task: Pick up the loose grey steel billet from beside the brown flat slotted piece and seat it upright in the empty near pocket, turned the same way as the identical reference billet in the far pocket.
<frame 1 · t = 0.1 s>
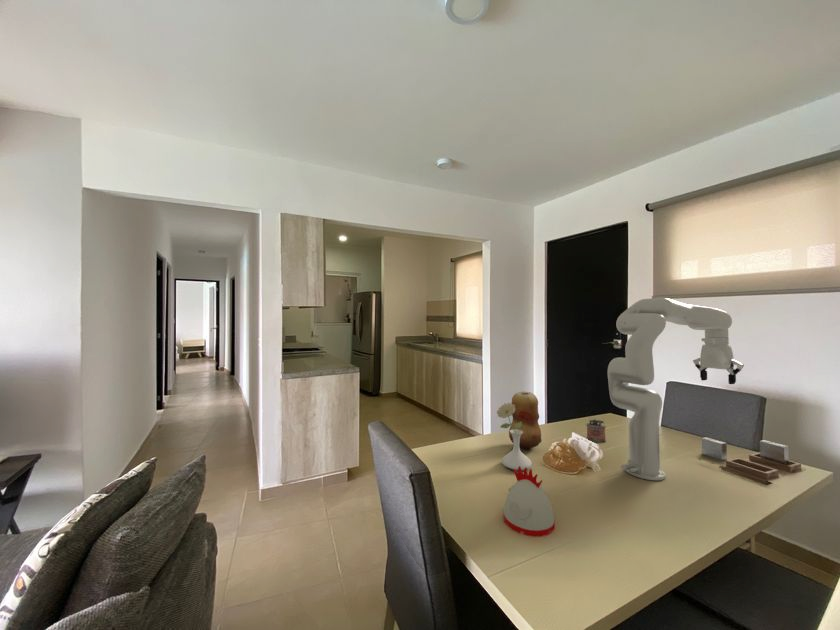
hand: (717, 382, 141), 31 cm above the table, tool pointing down, fingers open, 9 cm apart
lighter: (596, 440, 158), on the table
reference billet: (774, 464, 128), point 1 cm above the table, touching brown flat slotted piece
billet: (714, 460, 136), on the table
brown flat slotted piece: (763, 471, 125), on the table
kitchen timer: (528, 521, 95), on the table
butternut squash: (525, 448, 149), on the table
flower in vase: (514, 467, 130), on the table
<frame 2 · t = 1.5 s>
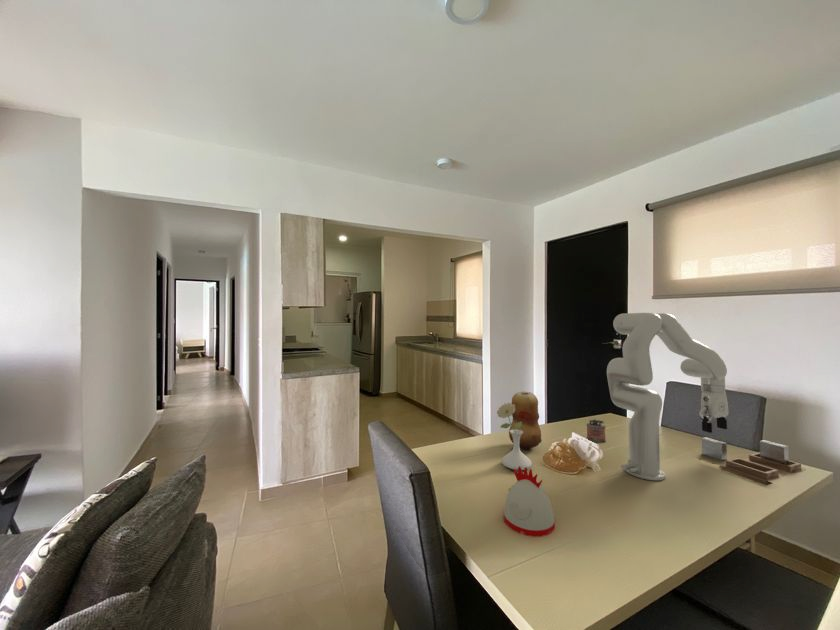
hand: (714, 430, 136), 12 cm above the table, tool pointing down, fingers open, 9 cm apart
nothing on the table moved.
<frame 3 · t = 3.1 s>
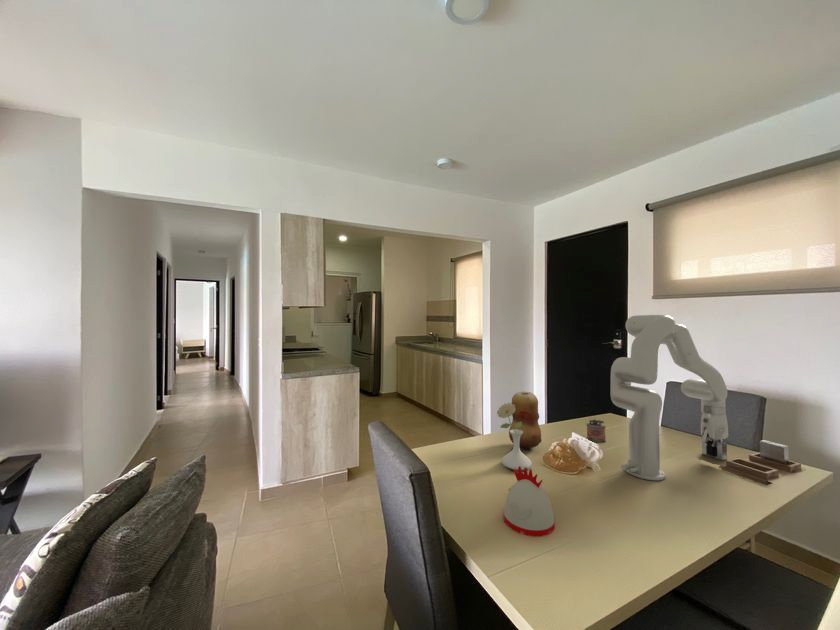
hand: (714, 454, 136), 2 cm above the table, tool pointing down, fingers closed on billet, 3 cm apart
billet: (714, 459, 136), on the table, touching gripper
everything else where it was.
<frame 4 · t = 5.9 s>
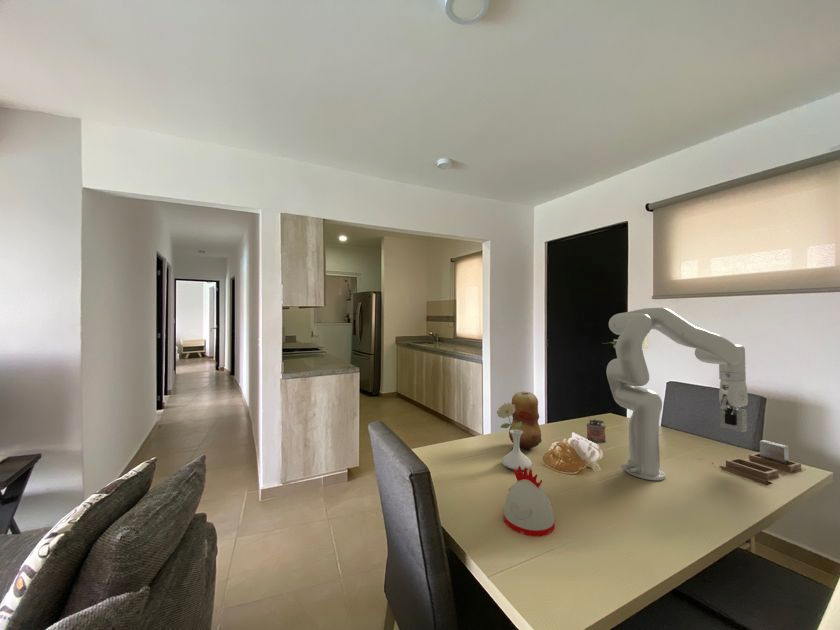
hand: (733, 423, 129), 17 cm above the table, tool pointing down, fingers closed on billet, 3 cm apart
billet: (733, 429, 129), point 15 cm above the table, touching gripper
everything else where it was.
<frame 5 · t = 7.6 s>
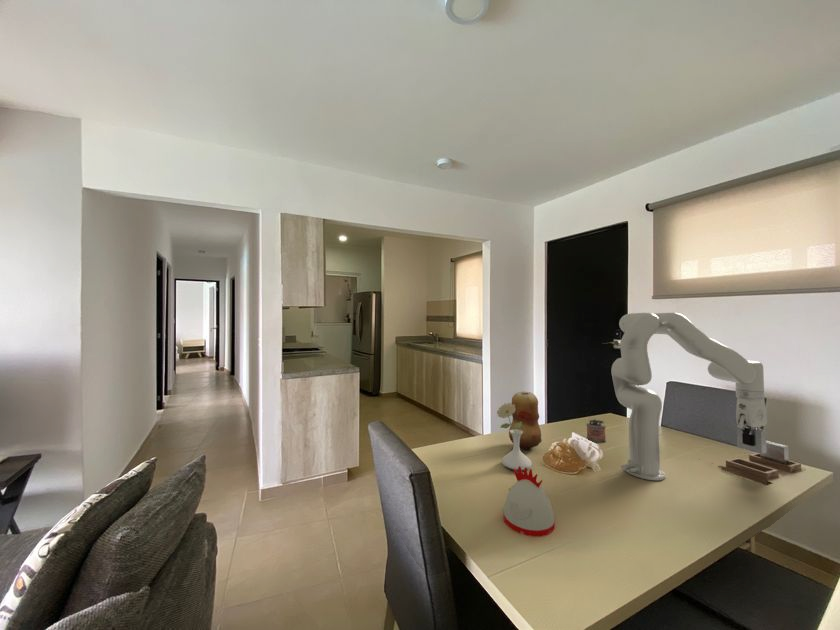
hand: (751, 443, 123), 11 cm above the table, tool pointing down, fingers closed on billet, 3 cm apart
billet: (751, 449, 123), point 9 cm above the table, touching gripper
everything else where it was.
when the fingers open (5 cm above the table, at t = 9.0 s): billet stays where it is, resting on brown flat slotted piece.
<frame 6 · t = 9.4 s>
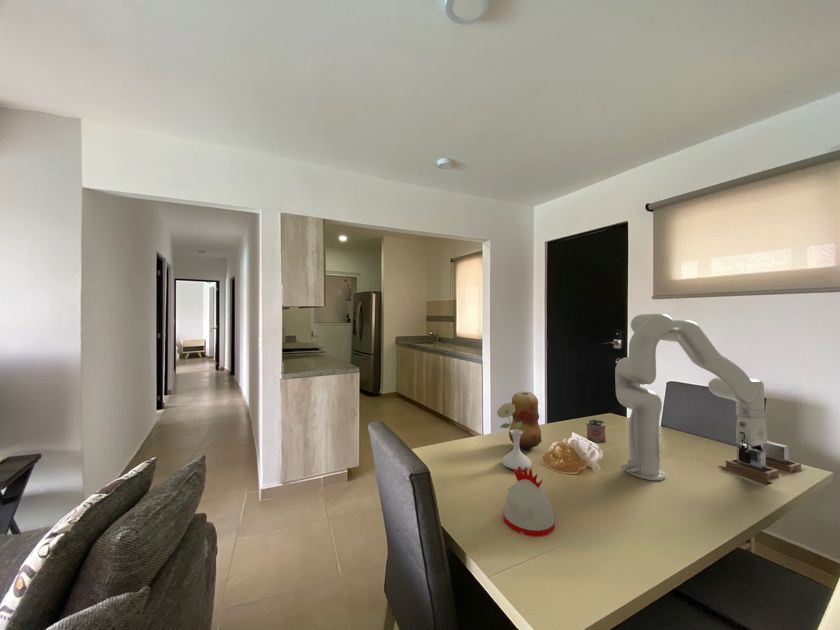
hand: (751, 460, 123), 5 cm above the table, tool pointing down, fingers open, 7 cm apart
billet: (751, 470, 123), point 1 cm above the table, touching brown flat slotted piece
everything else where it was.
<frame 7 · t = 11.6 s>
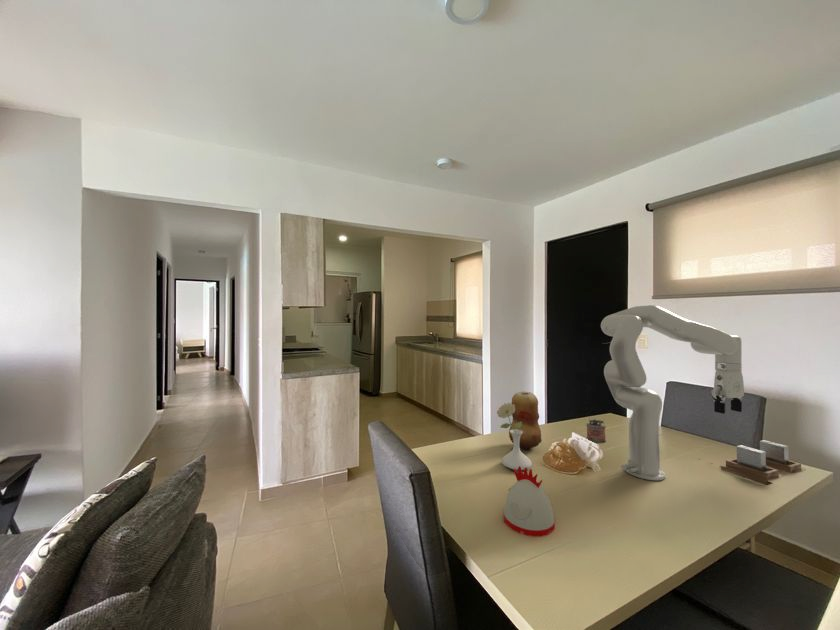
hand: (728, 411, 128), 22 cm above the table, tool pointing down, fingers open, 9 cm apart
nothing on the table moved.
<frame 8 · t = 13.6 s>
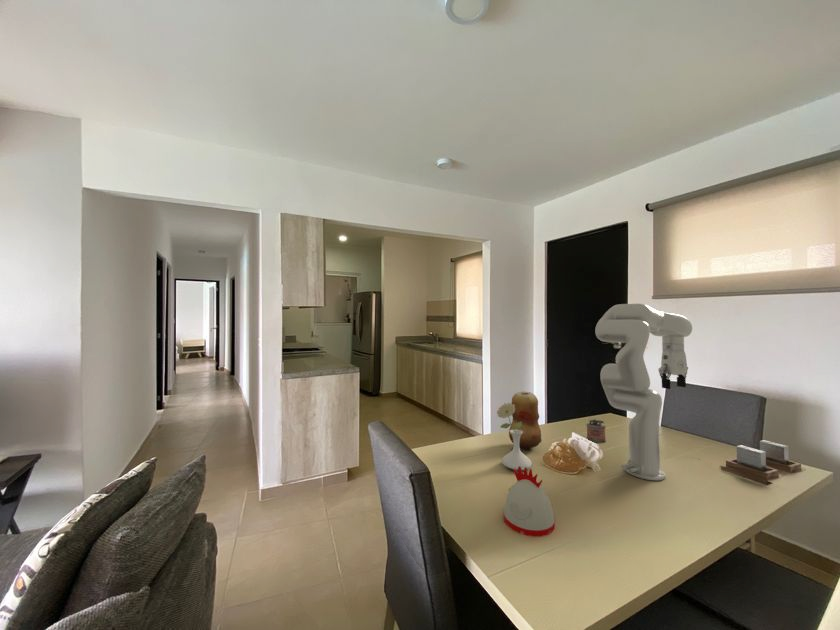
hand: (673, 387, 143), 28 cm above the table, tool pointing down, fingers open, 9 cm apart
nothing on the table moved.
at the end: billet 0.1 cm from the target spot on the brown flat slotted piece, point 1.5 cm above the brown flat slotted piece's base; billet tilted 0°; reference billet moved 0.0 cm from its start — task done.
